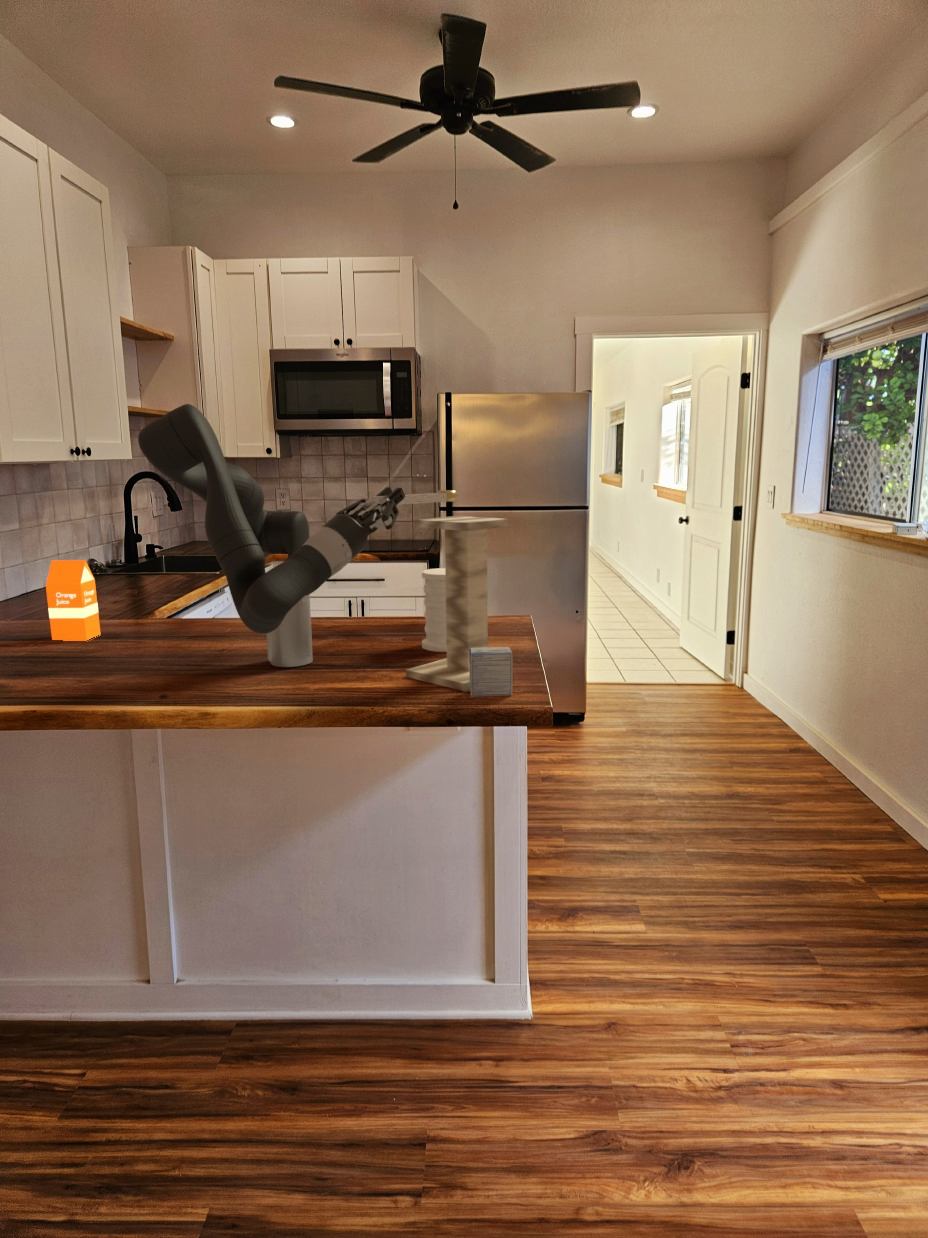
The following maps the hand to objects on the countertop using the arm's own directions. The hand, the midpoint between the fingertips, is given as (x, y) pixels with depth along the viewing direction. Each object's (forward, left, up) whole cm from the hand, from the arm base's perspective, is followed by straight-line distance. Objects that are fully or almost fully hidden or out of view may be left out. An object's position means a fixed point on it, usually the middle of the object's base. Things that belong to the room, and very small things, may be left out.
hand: (395, 491), depth 145 cm
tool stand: (0, +16, -38) cm, 41 cm away
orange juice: (-99, -19, -38) cm, 108 cm away
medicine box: (+13, +11, -38) cm, 42 cm away
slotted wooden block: (0, +5, -2) cm, 6 cm away
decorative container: (-20, +34, -38) cm, 55 cm away
